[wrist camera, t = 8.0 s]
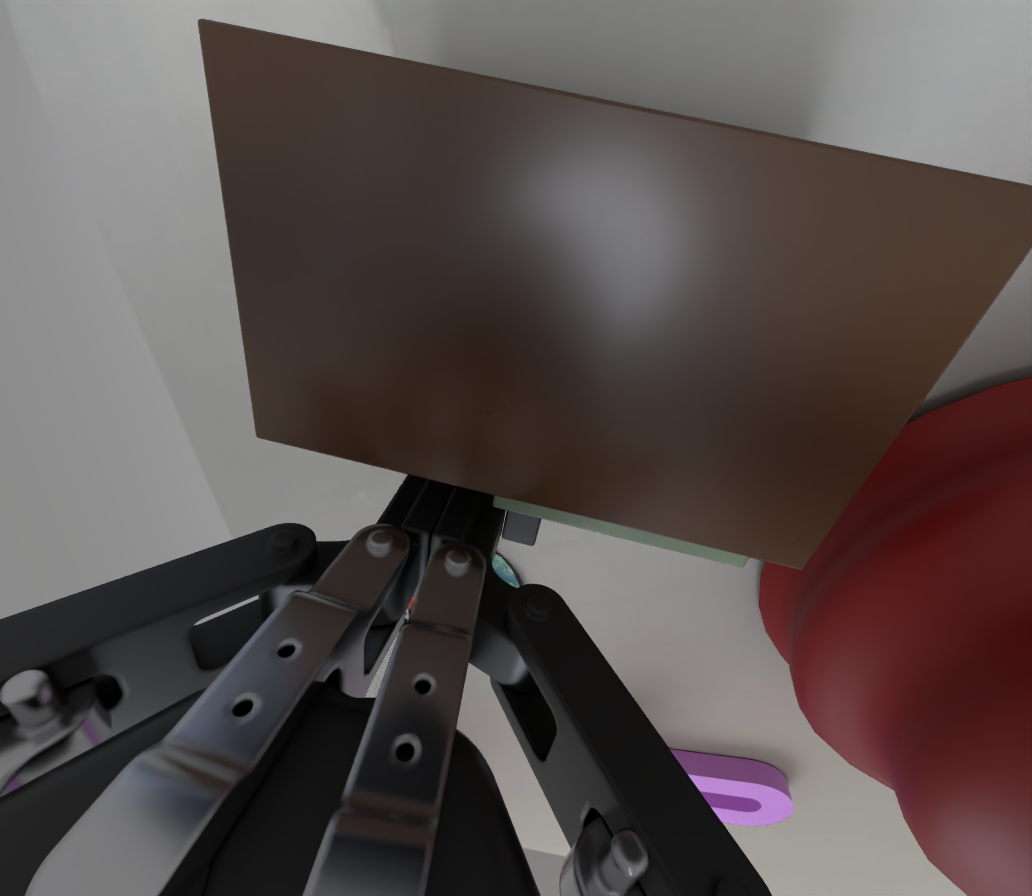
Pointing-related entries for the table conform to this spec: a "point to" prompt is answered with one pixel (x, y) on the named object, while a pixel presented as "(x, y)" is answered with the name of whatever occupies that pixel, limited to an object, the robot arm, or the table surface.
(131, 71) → the table surface
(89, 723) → the robot arm
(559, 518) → the closet door
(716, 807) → the bracket
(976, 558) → the table lamp
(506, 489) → the box
